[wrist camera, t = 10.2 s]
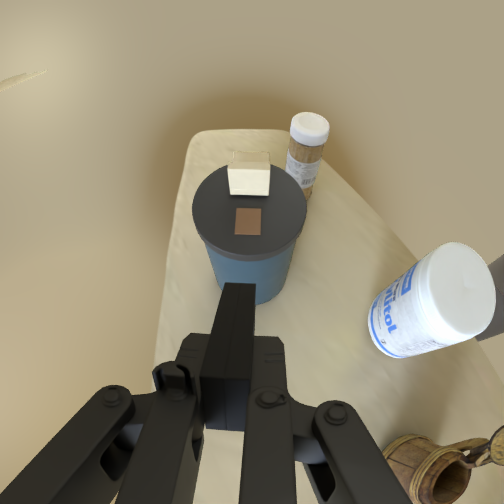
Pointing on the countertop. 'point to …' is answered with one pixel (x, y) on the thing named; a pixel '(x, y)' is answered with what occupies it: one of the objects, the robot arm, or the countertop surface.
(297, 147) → the sprinkles bottle
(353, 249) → the countertop surface
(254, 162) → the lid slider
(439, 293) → the supplement tub
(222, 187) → the tumbler
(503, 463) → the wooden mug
